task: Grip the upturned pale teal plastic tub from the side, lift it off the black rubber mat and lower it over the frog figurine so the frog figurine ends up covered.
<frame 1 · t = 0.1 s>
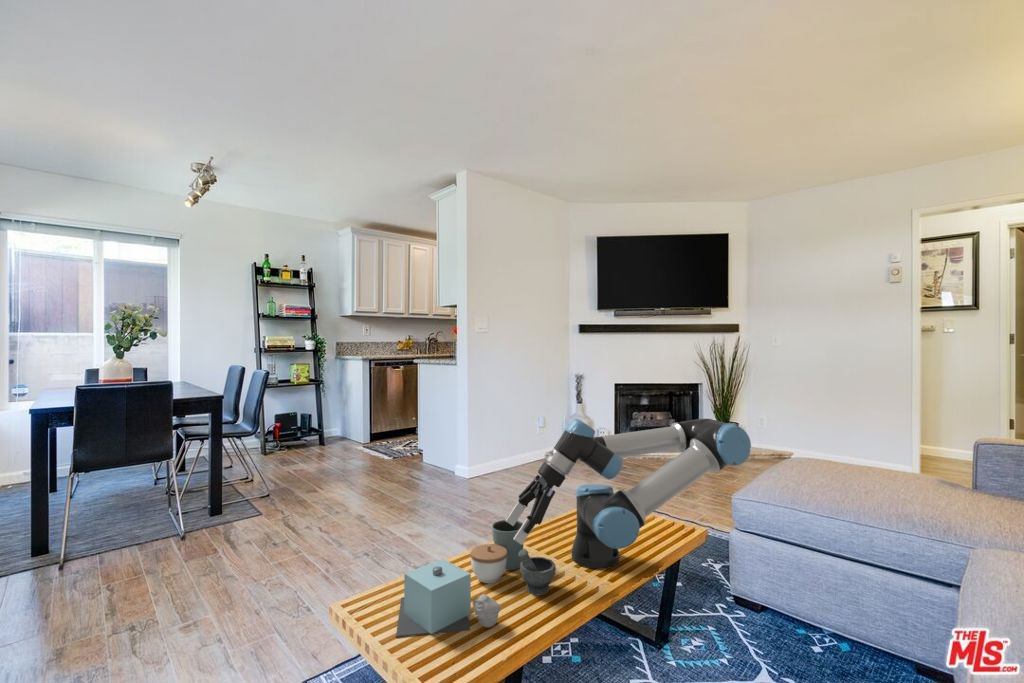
hand: (513, 532, 130), 15 cm above the table, tool tilted 35°, fingers open, 13 cm apart
mortar and pestle: (535, 590, 128), on the table
rubber mat: (433, 613, 117), on the table
lidded jar: (489, 578, 135), on the table
frog figurine: (486, 626, 112), on the table
cover tub: (437, 613, 116), resting on rubber mat
grey green cylindrical pot: (508, 564, 144), on the table
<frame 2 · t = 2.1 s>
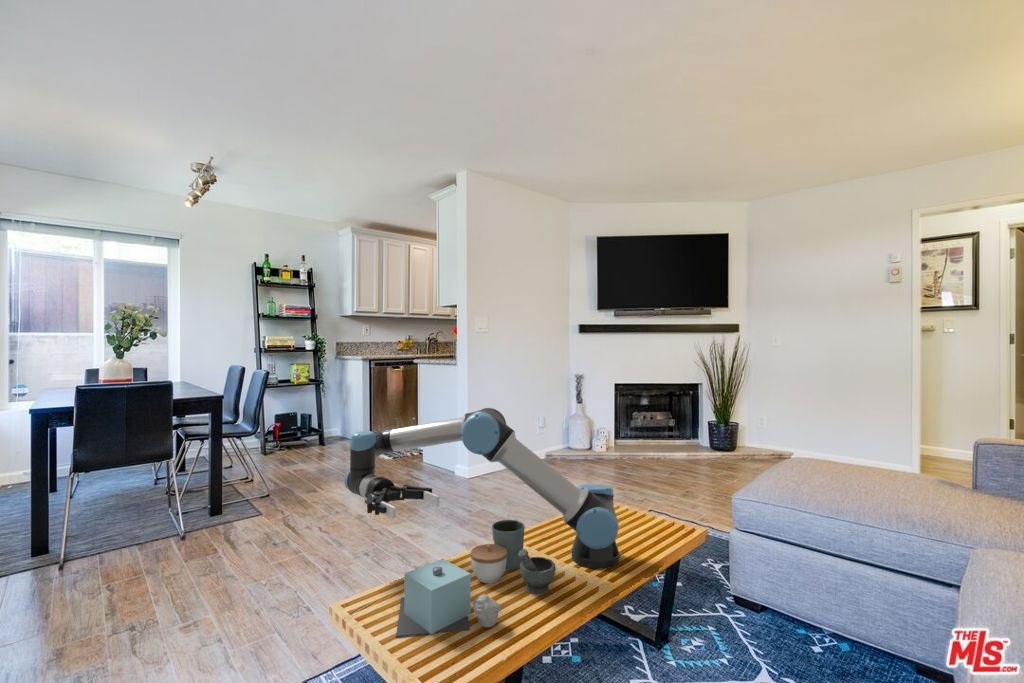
hand: (417, 507, 123), 25 cm above the table, tool horizontal, fingers open, 13 cm apart
nothing on the table moved.
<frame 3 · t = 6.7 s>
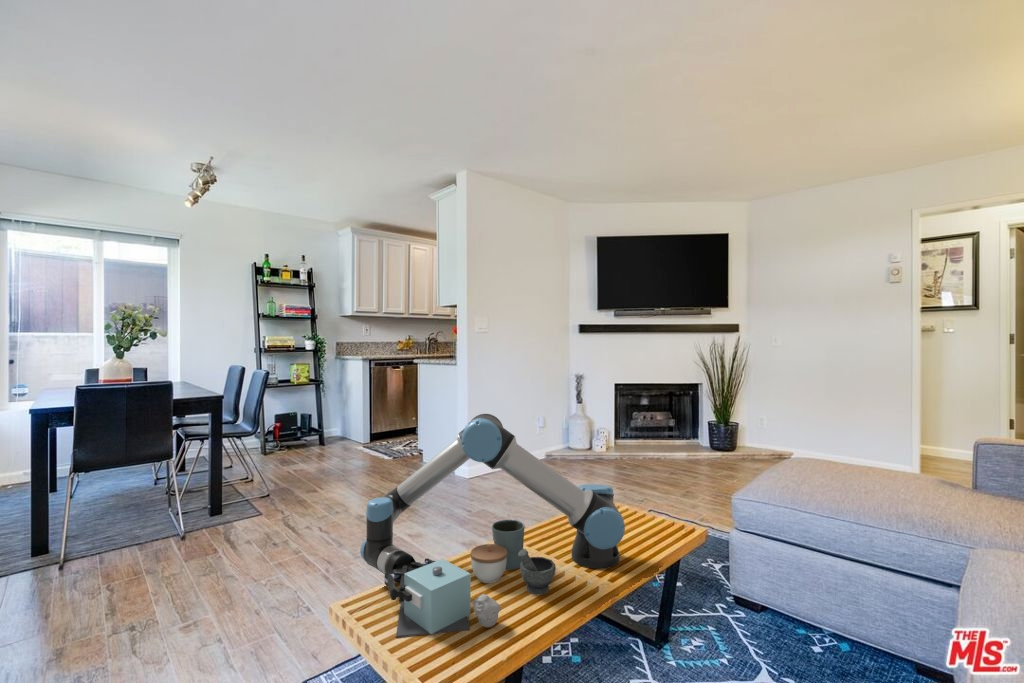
hand: (442, 592, 115), 6 cm above the table, tool horizontal, fingers closed on cover tub, 12 cm apart
cover tub: (437, 613, 116), resting on rubber mat, touching gripper
everything else where it was.
when the fingers open (8 cm above the table, at t = 12.9 s): cover tub drops 1 cm, resting on rubber mat.
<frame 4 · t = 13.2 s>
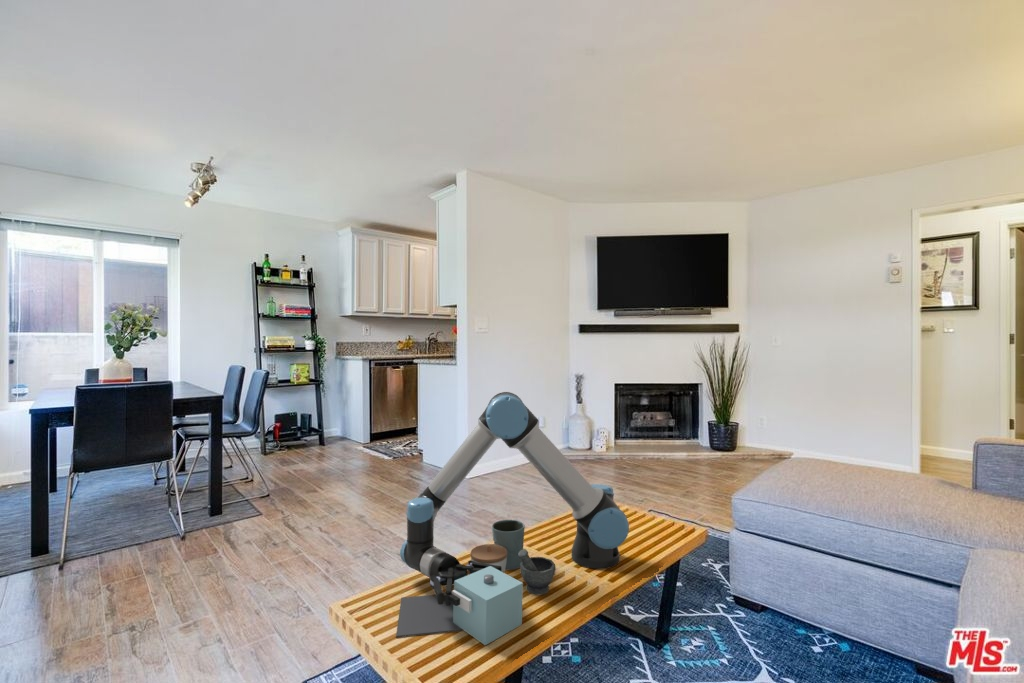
hand: (492, 595, 111), 8 cm above the table, tool horizontal, fingers open, 13 cm apart
cover tub: (487, 623, 112), resting on rubber mat
everything else where it was.
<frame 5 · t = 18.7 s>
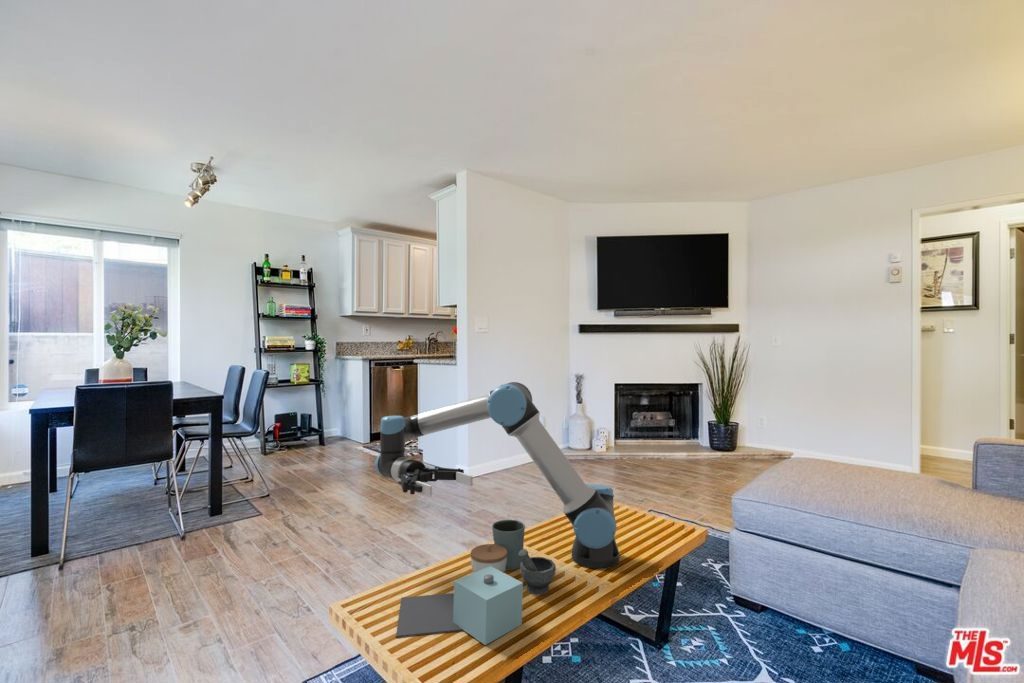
hand: (452, 486, 125), 30 cm above the table, tool horizontal, fingers open, 13 cm apart
nothing on the table moved.
at the end: cover tub 0.4 cm from the frog figurine (horizontally); cover tub on the table; cover tub tilted 2° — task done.
